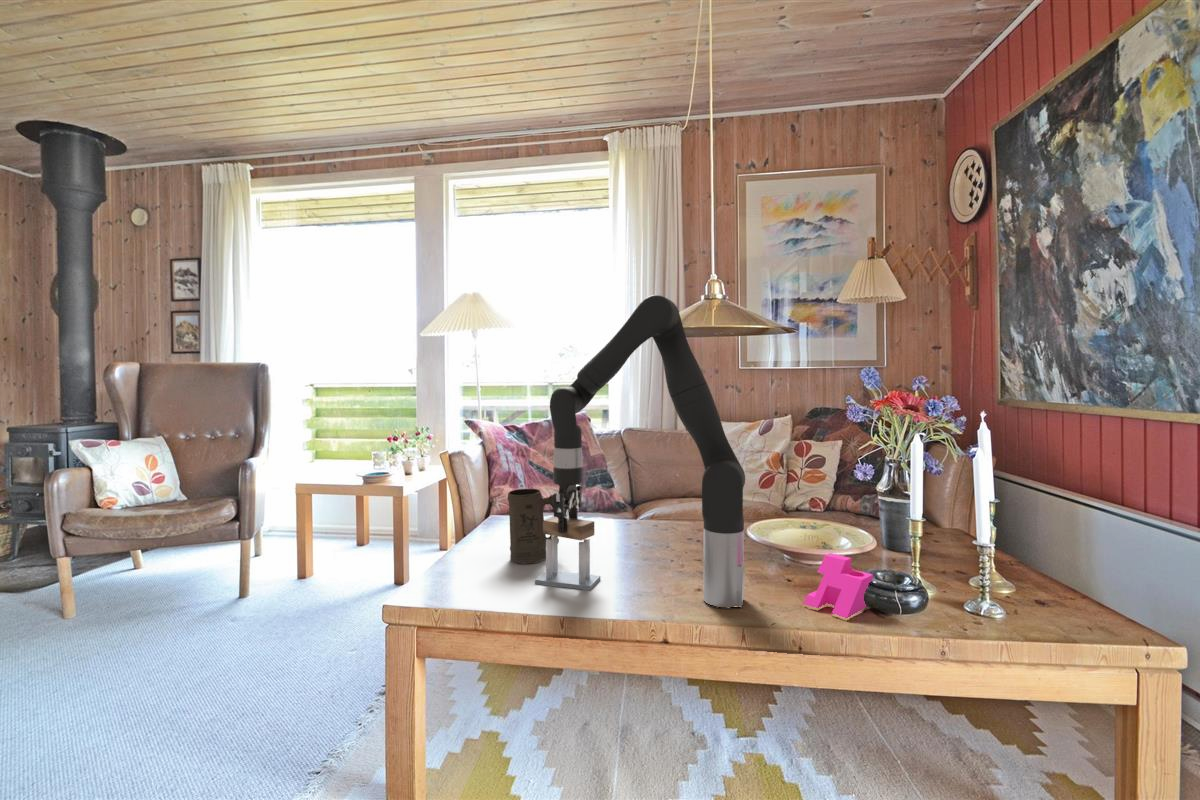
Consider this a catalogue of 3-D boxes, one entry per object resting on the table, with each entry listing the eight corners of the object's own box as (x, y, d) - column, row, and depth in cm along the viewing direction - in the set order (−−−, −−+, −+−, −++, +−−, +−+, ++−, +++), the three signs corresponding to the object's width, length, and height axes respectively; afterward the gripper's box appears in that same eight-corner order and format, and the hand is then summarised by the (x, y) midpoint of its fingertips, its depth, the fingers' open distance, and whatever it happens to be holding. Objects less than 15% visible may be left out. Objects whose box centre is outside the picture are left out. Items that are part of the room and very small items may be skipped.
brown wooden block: (594, 535, 147) (594, 521, 147) (581, 540, 142) (581, 526, 141) (556, 528, 153) (556, 515, 153) (542, 533, 148) (542, 520, 148)
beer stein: (509, 566, 160) (509, 495, 159) (505, 555, 170) (505, 488, 170) (563, 562, 164) (563, 492, 164) (556, 551, 174) (556, 486, 174)
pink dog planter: (829, 595, 139) (830, 553, 139) (872, 607, 131) (873, 563, 131) (803, 607, 131) (803, 563, 131) (846, 621, 123) (847, 574, 123)
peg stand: (600, 579, 149) (600, 537, 149) (590, 590, 142) (590, 546, 141) (547, 573, 154) (547, 533, 154) (534, 583, 146) (534, 540, 146)
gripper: (571, 469, 139) (571, 537, 139) (591, 462, 153) (591, 523, 153) (543, 468, 141) (543, 535, 142) (564, 460, 155) (564, 521, 155)
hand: (568, 529), depth 147 cm, fingers closed on brown wooden block, 6 cm apart
